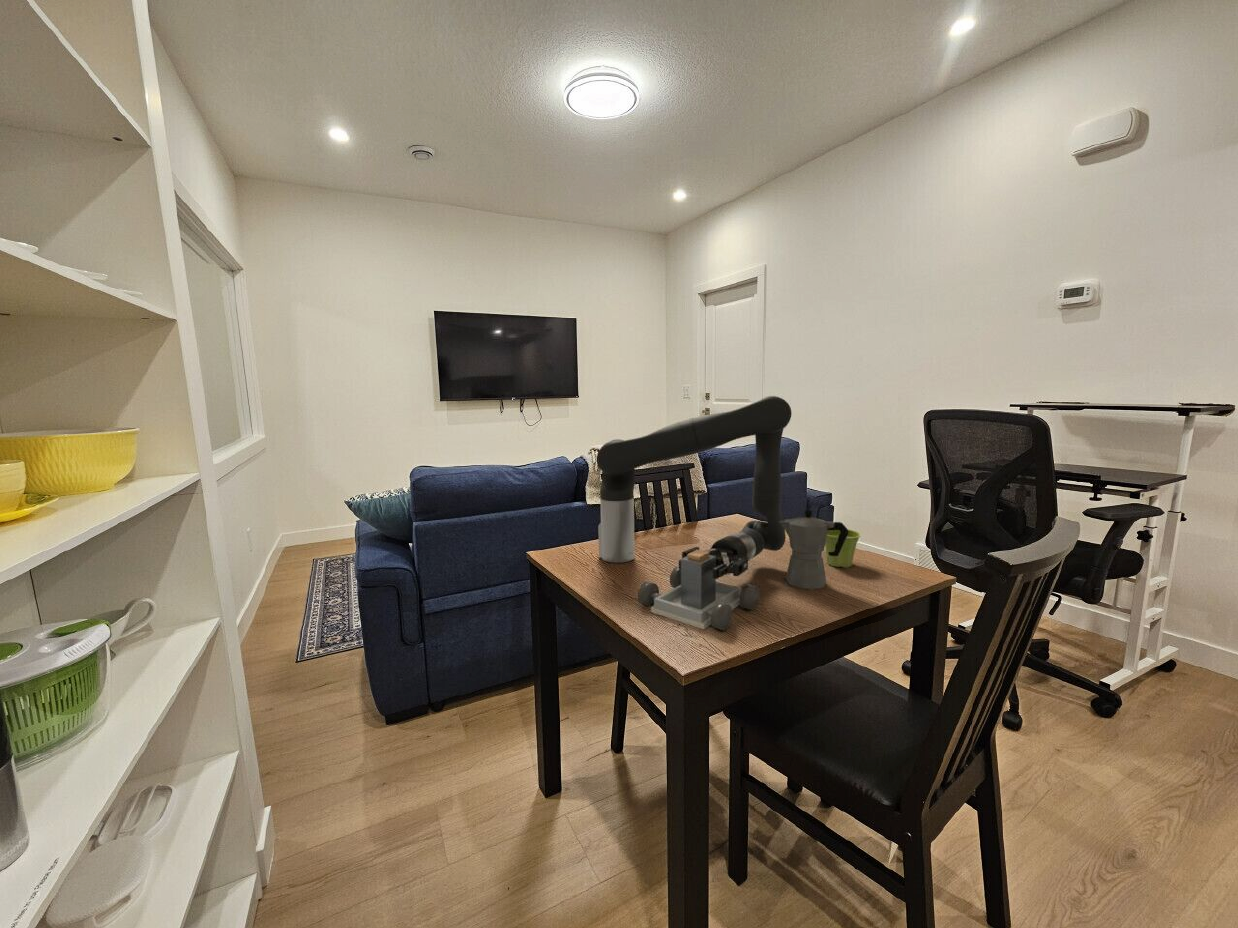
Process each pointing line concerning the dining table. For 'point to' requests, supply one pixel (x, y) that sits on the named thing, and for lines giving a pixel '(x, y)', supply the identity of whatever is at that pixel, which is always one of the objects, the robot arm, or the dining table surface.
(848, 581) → the dining table surface
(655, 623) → the dining table surface
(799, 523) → the coffeepot
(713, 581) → the tall block with cap
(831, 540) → the plant pot
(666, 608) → the chassis
